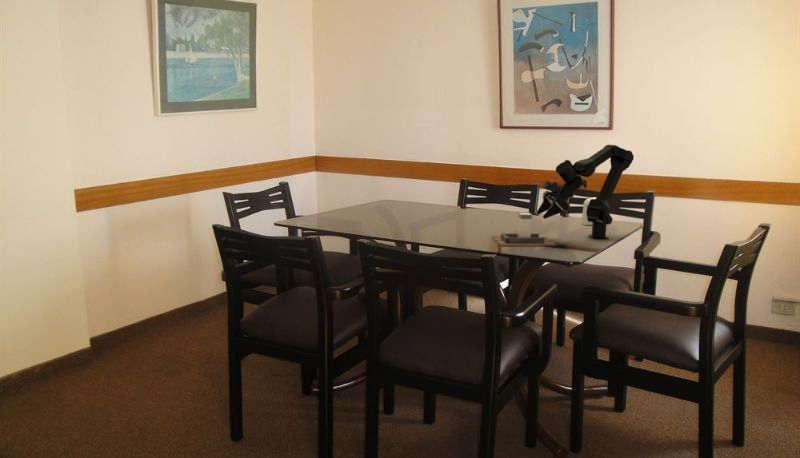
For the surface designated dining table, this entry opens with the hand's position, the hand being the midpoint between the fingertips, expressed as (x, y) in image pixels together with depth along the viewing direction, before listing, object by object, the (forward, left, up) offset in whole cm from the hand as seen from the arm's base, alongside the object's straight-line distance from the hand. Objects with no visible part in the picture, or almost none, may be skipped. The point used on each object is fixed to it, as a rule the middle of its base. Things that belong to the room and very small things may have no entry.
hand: (540, 215), depth 280 cm
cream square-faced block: (0, +6, -10) cm, 12 cm away
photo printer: (+39, -36, -11) cm, 54 cm away
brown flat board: (0, +6, -11) cm, 12 cm away
